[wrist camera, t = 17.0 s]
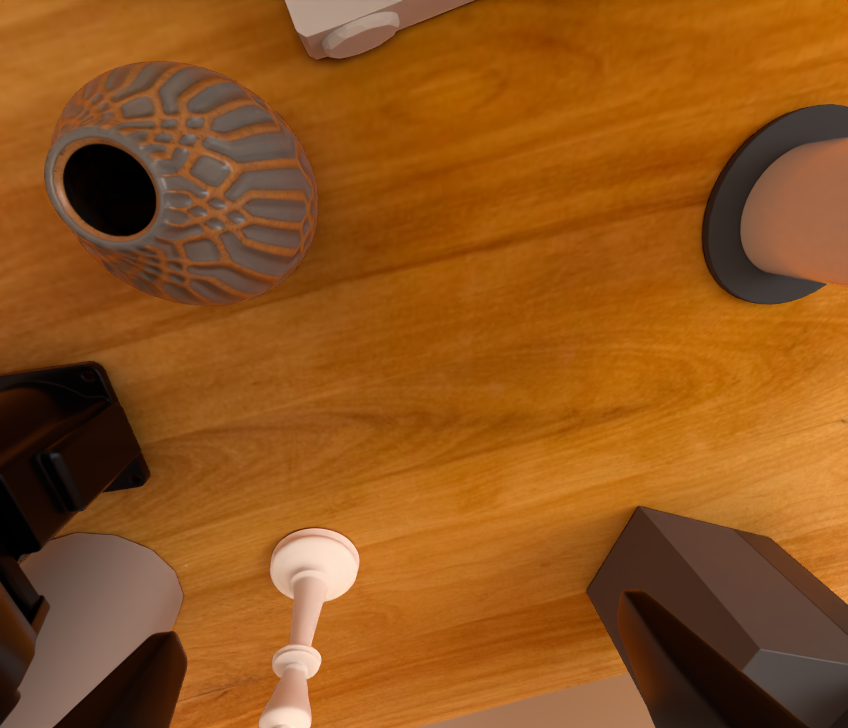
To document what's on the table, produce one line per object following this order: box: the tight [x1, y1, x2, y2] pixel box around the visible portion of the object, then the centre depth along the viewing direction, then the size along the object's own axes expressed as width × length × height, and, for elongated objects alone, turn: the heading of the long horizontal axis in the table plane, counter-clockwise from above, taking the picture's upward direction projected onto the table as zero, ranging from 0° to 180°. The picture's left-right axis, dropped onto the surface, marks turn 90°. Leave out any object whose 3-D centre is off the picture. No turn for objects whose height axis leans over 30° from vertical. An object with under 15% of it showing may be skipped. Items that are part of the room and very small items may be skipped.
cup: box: [0, 533, 184, 728], centre depth 18 cm, size 8×8×10 cm
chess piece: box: [259, 528, 359, 728], centre depth 19 cm, size 5×5×10 cm
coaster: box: [703, 104, 848, 304], centre depth 19 cm, size 8×8×1 cm
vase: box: [44, 61, 318, 306], centre depth 13 cm, size 7×7×9 cm
